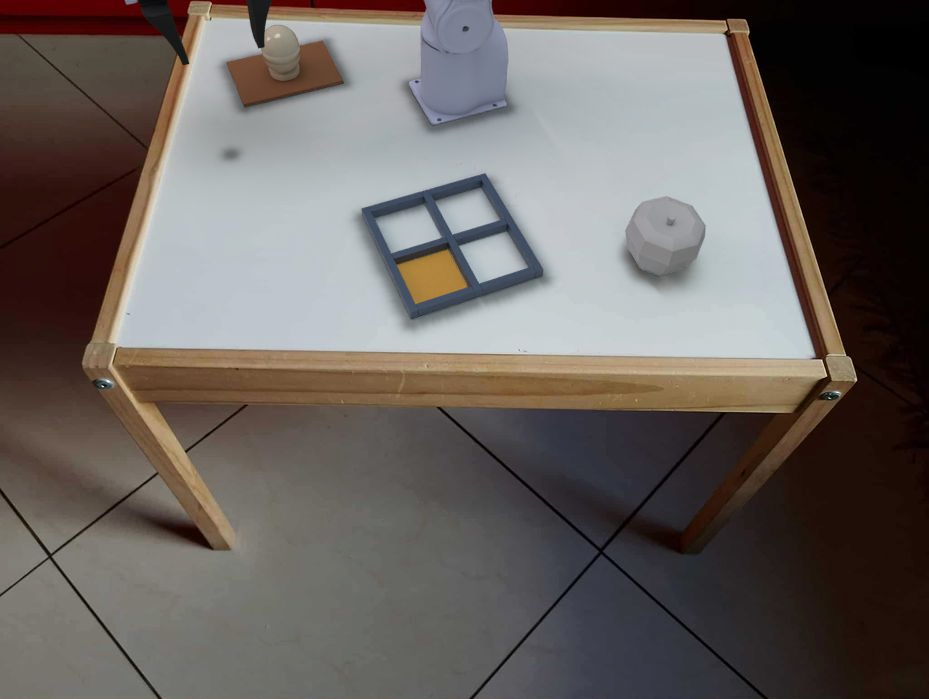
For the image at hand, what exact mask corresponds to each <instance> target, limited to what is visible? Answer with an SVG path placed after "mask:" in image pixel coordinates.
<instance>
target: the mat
mask: <svg viewBox="0 0 929 699" xmlns="http://www.w3.org/2000/svg"><path fill="white" fill-rule="evenodd" d="M299 46H300V54H301V56H300V61H299V67H300V72H299V74H298V76H297V77H295V78H294V79H291V80H288V81H280V80H276V79H274V78H273V77H272V76H271V75H270V73H269V67H268V66H267V65H266V63H265V61H264V60H263V57H262V53H261V54H255V55H251V56H247V57H242V58H238V59H234V60H229V61H226V66H227V69H228V70H229V74H230V75H231V78H232V80H233V83H234V85H235V88H236V90H237V93H238V95H239V98H240V101H241V103H242V105H243V107H250V106H255V105H259V104H262V103H267V102H270V101H271V102H272V101H275V100H280V99H283V98H288V97H293V96H296V95H300V94H304V93H308V92H312V91H316V90H320V89H325V88H328V87H333V86H336V85H337V86H338V85H341V84H344V79H343V77H342V75H341V73H340V71H339V70H338V67H337V66H336V64H335V61H334V60H333V58H332V56H331V53H330V52H329V50H328V47H327V45H326V44H325V42H324V40H318V41H314V42H309V43H304V44H301V45H300V44H299Z"/></svg>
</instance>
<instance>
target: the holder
mask: <svg viewBox="0 0 929 699" xmlns="http://www.w3.org/2000/svg"><path fill="white" fill-rule="evenodd" d="M489 178H490V177H489V176H488V175H487V172H484V173H480V174H478V175H477V174H476V175H474V176H470V177H466V178H463V179H460V180H459V179H458V180H456V181H452V182H449V183H445V184H441V185H438V186H434V187H431V188H428V189H425V190H424V189H423V190H421V191H418V192H413V193H411V194H407V195H403V196H399V197H396V198H393V199H390V200H386V201H383V202H379V203H376V204H372V205H369V206H365V207H361V209H360V210H361V217H362V219H363V220H364V223H365V225H366V227H367V229H368V232H369V234H370V235H371V237H372V240H373V242H374V244H375V246H376V249H377V251H378V253H379V255H380V256H381V259H382V261H383V263H384V265H385V267H386V269H387V270H386V271H388V274H389V276H390V278H391V280H392V282H393V285H394V287H395V289H396V291H397V293H398V295H399V297H400V299H401V302H402V303H403V306H404V308H405V310H406V312H407V314H408V316H409V318H410V320H412V319H415V318H419V317H422V316H425V315H428V314H430V313H434V312H437V311H440V310H443V309H446V308H449V307H452V306H456V305H458V304H462V303H464V302H468V301H470V300H473V299H476V298H479V297H482V296H486V295H488V294H491V293H494V292H498V291H501V290H504V289H506V288H511V287H513V286H517V285H520V284H522V283H525V282H529V281H531V280H534V279H537V278H541V277H542V276H543V273H544V268H543V266H542V265H541V263H540V261H539V260H538V258H537V256H536V254H535V253H534V251H533V249H532V248H531V246H530V244H529V242H528V241H527V240H526V238H525V237H524V234H523V233H522V232H521V229H520V228H519V226H518V225H517V223H516V221H515V220H514V218H513V216H512V215H511V213H510V211H509V210H508V208H507V207H506V205H505V203H504V202H503V200H502V198H501V197H500V195H499V193H498V191H497V190H496V188H495V187H494V185H493V183H492V182H491V180H490V179H489ZM478 188H481V189H482V191H483V193H484V194H485V196H486V198H487V199H488V201H489V203H490V204H491V206H492V208H493V209H494V211H495V213H496V215H497V217H498V219H499V220H496V221H493V222H489V223H486V224H483V225H480V226H476V227H473V228H470V229H469V228H468V229H467V230H463V231H459V232H457V233H454V234H453V233H452V231H451V229H450V227H449V225H448V223H447V222H446V220H445V218H444V216H443V214H442V212H441V210H440V209H439V207H438V205H437V203H436V201H438V200H441V199H444V198H448V197H451V196H454V195H457V194H462V193H464V192H468V191H471V190H475V189H478ZM419 205H424V206H425V209H426V210H427V212H428V214H429V216H430V218H431V219H432V222H433V223H434V226H435V227H436V229H437V231H438V233H439V234H440V236H441V237H440V238H437V239H434V240H431V241H426V242H424V243H421V244H417V245H413V246H411V247H407V248H404V249H399V250H397V251H394V252H391V250H390V248H389V246H388V243H387V241H386V239H385V238H384V235H383V233H382V232H381V229H380V226H379V225H378V223H377V221H376V219H375V218H378V217H381V216H386V215H388V214H389V215H390V214H393V213H395V212H399V211H402V210H406V209H410V208H413V207H416V206H419ZM504 232H507V233H508V235H509V237H510V238H511V240H512V242H513V244H514V245H515V247H516V249H517V250H518V252H519V253H520V256H521V257H522V259H523V260H524V262H525V264H526V266H527V268H522V269H519V270H517V271H513V272H510V273H508V274H505V275H501V276H498V277H495V278H492V279H489V280H486V281H482V282H479V280H478V279H477V277H476V275H475V273H474V271H473V269H472V268H471V266H470V263H469V262H468V260H467V258H466V256H465V255H464V253H463V251H462V250H461V247H460V246H462V245H467V244H468V243H471V242H475V241H478V240H482V239H485V238H489V237H491V236H494V235H498V234H501V233H504Z"/></svg>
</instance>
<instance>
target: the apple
mask: <svg viewBox="0 0 929 699" xmlns="http://www.w3.org/2000/svg"><path fill="white" fill-rule="evenodd" d="M706 227H707V226H706V223H705V222H704V221H703V220H702V218H701V216H700V215H699V213H698V212H697V210H696V209H695V207H694V206H693V205H692V204H690V203H687V202H684V201H681V200H678V199H675V198H673V197H671V196H667V195H665V196H661V197H657V198H653V199H649V200H645V201H641V203H639V205H638V206H637V207H636V208H635V209H634V211H633V213H632V215H631V216H630V220H629V221H628V224H627V226H626V228H625V230H624V234H625V241H626V246H627V248H628V250H629V252H630V254H631V256H632V258H633V259H634V262H635V263H636V265H637V266H638V268H639V269H640V271H641V270H642V271H644V272H646V273H649V274H651V275H654V276H656V277H662V276H664V275H669V274H671V273H675V272H678V271H681V270H684V269H686V268H687V267H688V266H689V265H691V264H692V263H693V262H694V261H695V260H696V259H697V258H698V255H699V253H700V250H701V248H702V245H703V244H704V241H705V238H706Z"/></svg>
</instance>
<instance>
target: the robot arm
mask: <svg viewBox="0 0 929 699" xmlns="http://www.w3.org/2000/svg"><path fill="white" fill-rule="evenodd" d="M245 1H246V6H247V11H248V13H247V14H248V19H249V25H250V31H251V34H252V37H253V39H254V42H255V44H256V47H257V49H261V48H264V47H265V42H264V37H265V30H266V26H267V19H268V14H269V12H270V9H271V6H272V3H273V0H245ZM492 1H493V0H423V2H424V5H425V7H426V8H425V11H424V14H423V17H422V19H421V22H420V28H419V29H420V32H419V33H420V78H416V79H412V80H410V81H409V82H408V87H409V89H410V90H411V92H412V94H413V95H414V97H415V99H416V101H417V102H418V104H419V106H420V108H421V109H422V111H423V113H424V115H425V116H426V118H427V120H428V121H429V123H430V124H431V126H432V127H436V126H439V125H443V124H447V123H451V122H455V121H459V120H463V119H466V118H471V117H474V116H477V115H482V114H484V113H490V112H493V111H497V110H500V109H504V108H506V107H507V101H506V100H505V97H506V96H505V95H506V87H507V86H506V85H507V75H508V68H509V67H508V66H509V45H508V39H507V36H506V33H505V30H504V28H503V27H502V24H501V23H500V21H499V20H498V19H496V18H495V15H494V11H493V7H492V3H493V2H492ZM124 2H125V5H127V6H128V5H132V4H137V3H138V4H139V6H140V7H139V8H140V10H141V14H142V15H143V17H144V18H145V19H146V20H147V21H148V23H149V24H150V25H152V26H153V27H154V28H155V29H156V30H157V31H158V33H160V34H161V35H162V36H163V37H164V38H165V40H166V42H168V44H170V46H171V48H172V49H173V50H174V52H175V53H176V55H177V56H178V58H179V61H180V63H181V65H182V66H186V65H190V60H189V58H188V54H187V52H186V49H185V46H184V44H183V41H182V38H181V36H180V34H179V31H178V29H177V26H176V22H175V20H174V16H173V12H172V9H171V8H170V4H169V1H168V0H124Z"/></svg>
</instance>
